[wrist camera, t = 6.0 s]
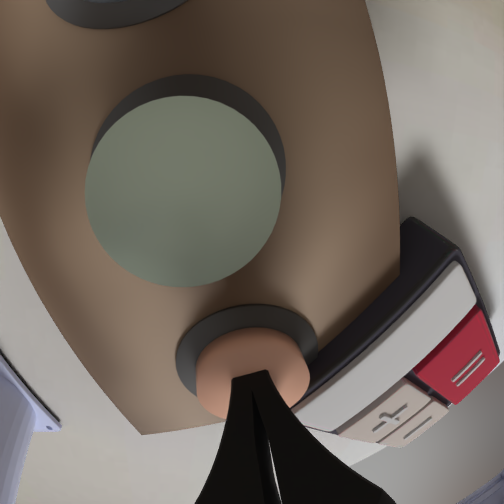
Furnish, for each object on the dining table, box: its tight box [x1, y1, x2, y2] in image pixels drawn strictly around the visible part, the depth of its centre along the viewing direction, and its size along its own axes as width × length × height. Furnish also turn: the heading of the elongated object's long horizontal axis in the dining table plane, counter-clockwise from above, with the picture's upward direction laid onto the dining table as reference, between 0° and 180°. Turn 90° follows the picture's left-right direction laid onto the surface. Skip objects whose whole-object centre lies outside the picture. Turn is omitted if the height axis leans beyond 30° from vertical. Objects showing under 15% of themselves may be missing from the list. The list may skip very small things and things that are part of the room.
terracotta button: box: [196, 327, 310, 419], centre depth 12 cm, size 4×4×1 cm
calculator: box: [290, 217, 500, 447], centre depth 16 cm, size 11×4×15 cm
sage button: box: [85, 96, 281, 287], centre depth 7 cm, size 4×4×1 cm
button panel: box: [0, 0, 400, 435], centre depth 10 cm, size 14×24×2 cm, turn 13°
